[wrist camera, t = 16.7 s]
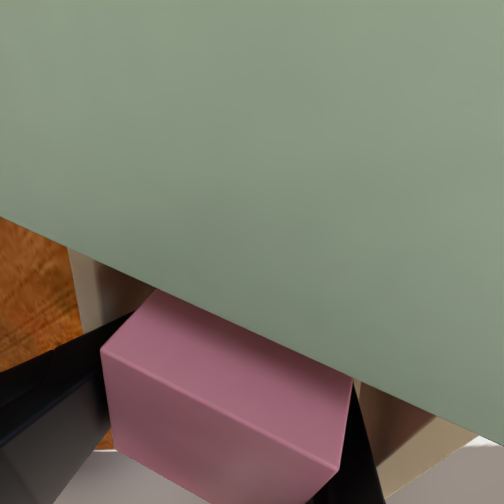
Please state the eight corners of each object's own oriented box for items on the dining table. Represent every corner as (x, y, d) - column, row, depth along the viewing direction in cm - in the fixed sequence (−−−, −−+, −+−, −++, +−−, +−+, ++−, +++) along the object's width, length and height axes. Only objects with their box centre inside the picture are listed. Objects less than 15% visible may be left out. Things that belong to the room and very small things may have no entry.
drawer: (339, 414, 18) (310, 577, 13) (174, 335, 20) (88, 449, 15) (639, 31, 7) (1320, 57, 2) (209, -71, 9) (-88, -209, 4)
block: (313, 382, 11) (272, 539, 8) (197, 327, 12) (112, 449, 9) (367, 291, 8) (340, 471, 5) (212, 228, 9) (97, 348, 6)
